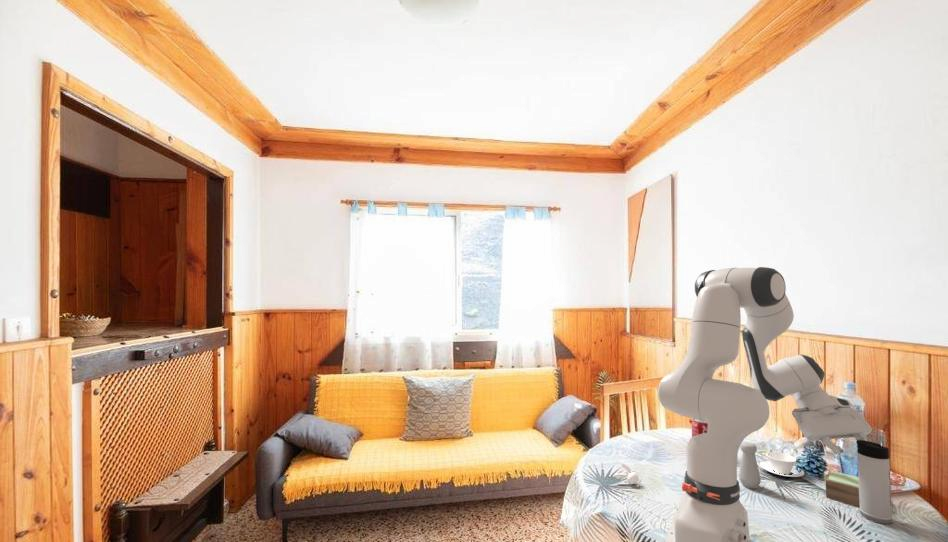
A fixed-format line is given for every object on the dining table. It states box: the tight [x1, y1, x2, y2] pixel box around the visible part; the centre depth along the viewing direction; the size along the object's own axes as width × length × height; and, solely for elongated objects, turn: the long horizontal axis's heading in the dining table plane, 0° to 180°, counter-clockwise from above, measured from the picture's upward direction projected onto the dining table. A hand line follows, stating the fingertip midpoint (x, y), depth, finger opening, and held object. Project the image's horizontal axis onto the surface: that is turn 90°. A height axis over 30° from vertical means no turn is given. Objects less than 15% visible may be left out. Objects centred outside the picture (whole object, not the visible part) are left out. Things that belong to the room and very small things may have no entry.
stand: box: [825, 470, 860, 508], centre depth 121 cm, size 9×9×5 cm
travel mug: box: [856, 440, 893, 525], centre depth 111 cm, size 6×7×20 cm
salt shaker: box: [738, 441, 762, 490], centre depth 129 cm, size 6×6×13 cm
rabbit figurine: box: [613, 460, 642, 488], centre depth 131 cm, size 6×4×8 cm
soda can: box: [691, 418, 708, 438], centre depth 155 cm, size 7×7×12 cm
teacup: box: [759, 451, 805, 478], centre depth 138 cm, size 12×12×5 cm
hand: (854, 452), depth 116 cm, fingers open, 8 cm apart
